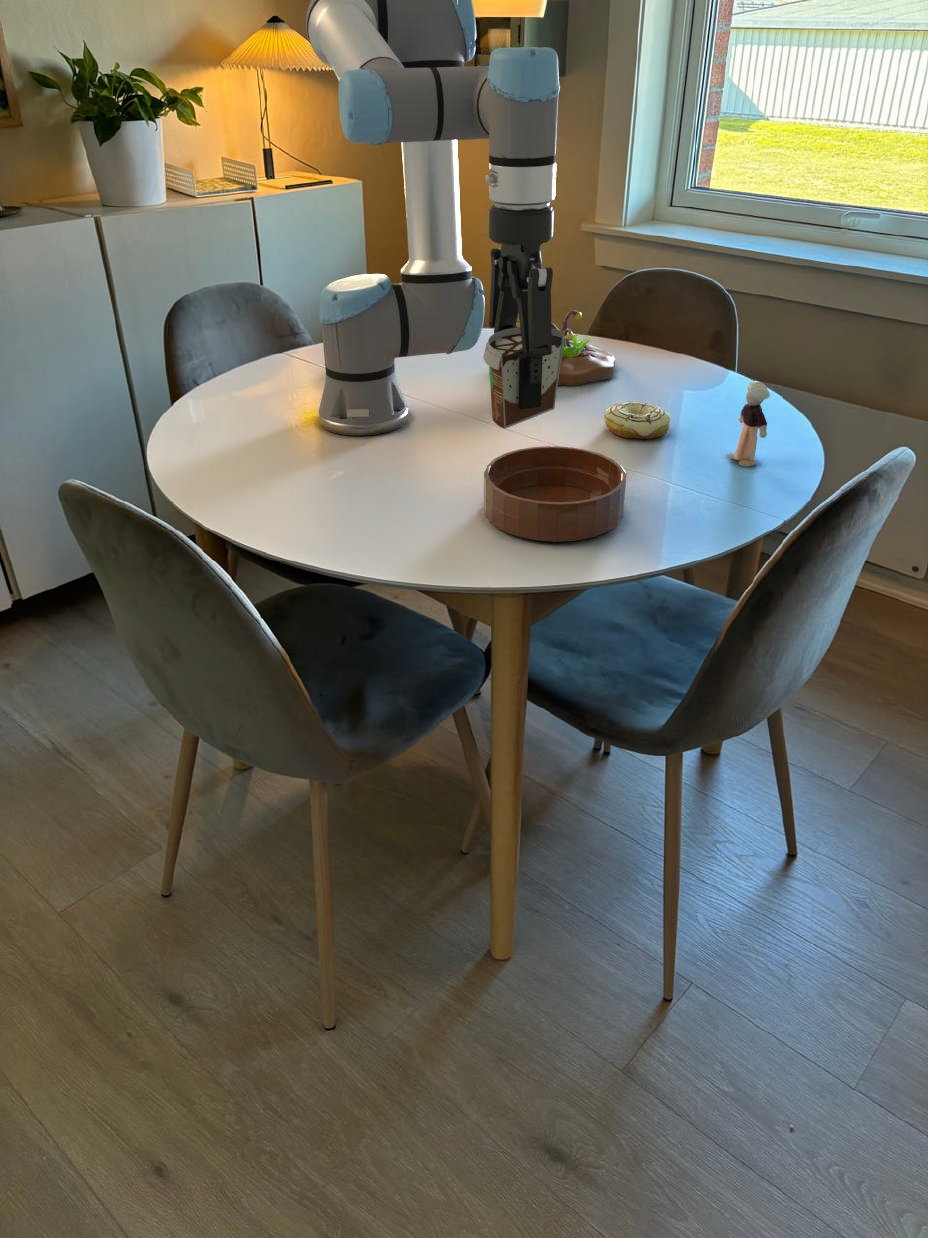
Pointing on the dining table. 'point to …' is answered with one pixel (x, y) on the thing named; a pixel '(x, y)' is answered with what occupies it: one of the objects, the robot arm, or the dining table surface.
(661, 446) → the dining table surface
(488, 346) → the food container
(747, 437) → the grandmother figurine
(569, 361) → the plant
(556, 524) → the bowl
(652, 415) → the decorated donut
